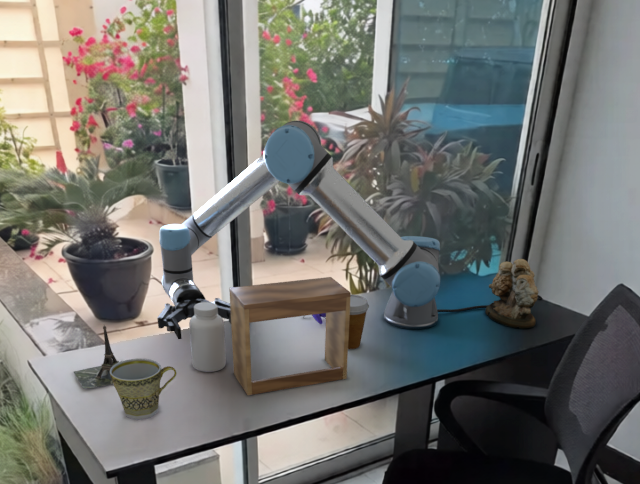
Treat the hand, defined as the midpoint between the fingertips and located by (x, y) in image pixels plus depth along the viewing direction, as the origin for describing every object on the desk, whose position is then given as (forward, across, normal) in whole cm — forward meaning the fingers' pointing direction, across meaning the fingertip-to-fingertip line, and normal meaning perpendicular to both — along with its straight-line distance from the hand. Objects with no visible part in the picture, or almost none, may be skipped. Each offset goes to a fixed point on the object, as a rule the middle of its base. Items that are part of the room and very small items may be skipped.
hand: (209, 329), depth 150 cm
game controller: (-19, -36, -10) cm, 42 cm away
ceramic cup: (+15, +18, -10) cm, 25 cm away
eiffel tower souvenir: (-4, +22, -10) cm, 25 cm away
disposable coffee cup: (-2, -36, -10) cm, 38 cm away
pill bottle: (-2, 0, -10) cm, 10 cm away
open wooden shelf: (+10, -16, -10) cm, 21 cm away
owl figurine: (-3, -88, -10) cm, 89 cm away
